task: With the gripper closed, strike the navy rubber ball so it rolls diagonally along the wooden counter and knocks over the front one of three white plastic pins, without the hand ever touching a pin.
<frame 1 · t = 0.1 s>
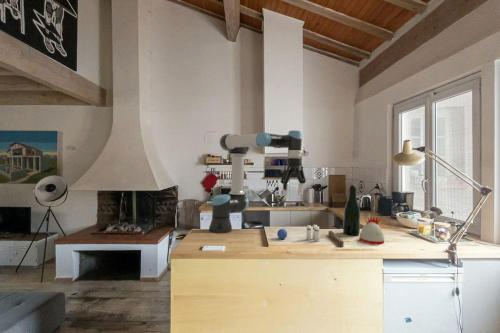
hand: (293, 195, 157), 28 cm above the table, tool pointing down, fingers open, 13 cm apart
ball: (282, 233, 168), on the table
back left pin: (314, 238, 170), on the table
back wall: (335, 240, 167), on the table
back right pin: (316, 241, 165), on the table
front pin: (308, 239, 167), on the table
spiked dome hat: (371, 241, 169), on the table
green wine bottle: (351, 234, 185), on the table
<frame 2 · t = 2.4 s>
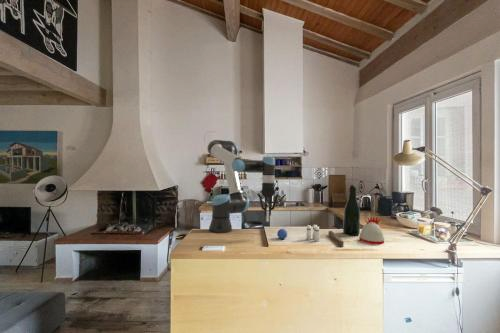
hand: (267, 221, 167), 11 cm above the table, tool pointing down, fingers closed
nothing on the table moved.
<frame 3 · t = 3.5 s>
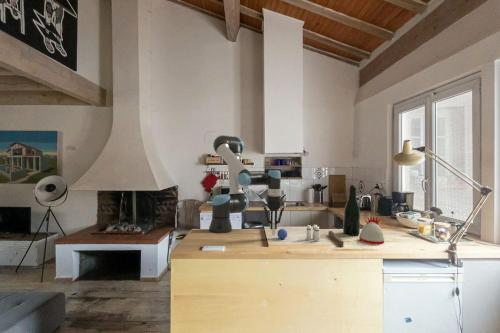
hand: (273, 234, 167), 3 cm above the table, tool pointing down, fingers closed
nothing on the table moved.
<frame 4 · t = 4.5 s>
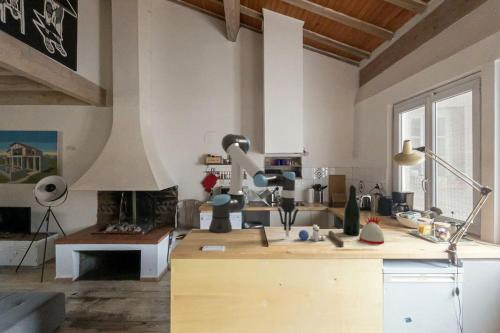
hand: (287, 235, 167), 2 cm above the table, tool pointing down, fingers closed
ball: (303, 235, 166), on the table
front pin: (310, 237, 167), point 1 cm above the table, tilted 90°
everything else where it was.
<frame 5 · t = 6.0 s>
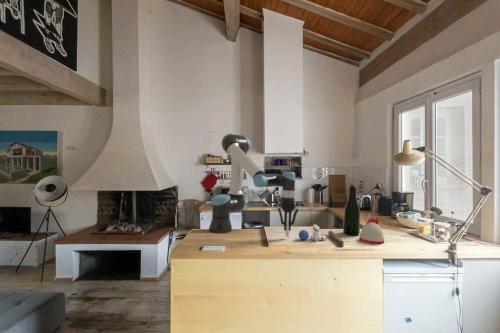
hand: (287, 235, 168), 2 cm above the table, tool pointing down, fingers closed
nothing on the table moved.
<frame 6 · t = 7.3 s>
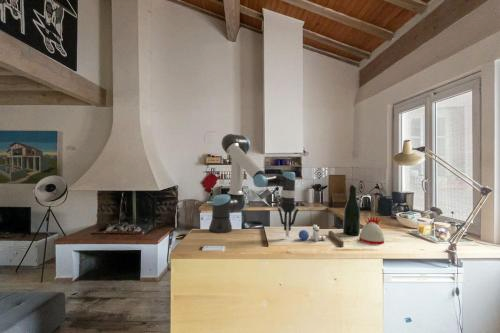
hand: (287, 235, 168), 2 cm above the table, tool pointing down, fingers closed
nothing on the table moved.
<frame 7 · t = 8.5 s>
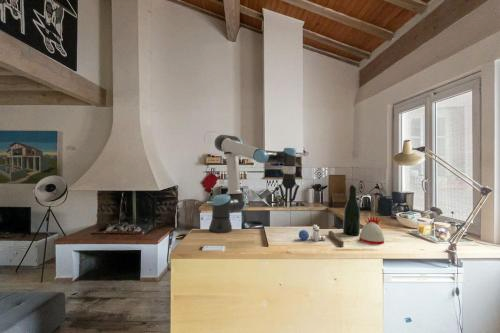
hand: (287, 212, 167), 16 cm above the table, tool pointing down, fingers closed
nothing on the table moved.
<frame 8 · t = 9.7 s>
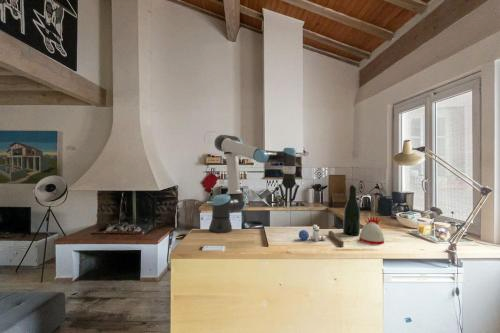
hand: (287, 212, 167), 16 cm above the table, tool pointing down, fingers closed
nothing on the table moved.
at the end: front pin tilted 90°; front pin never touched the robot; ball moved 12.9 cm from its start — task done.
